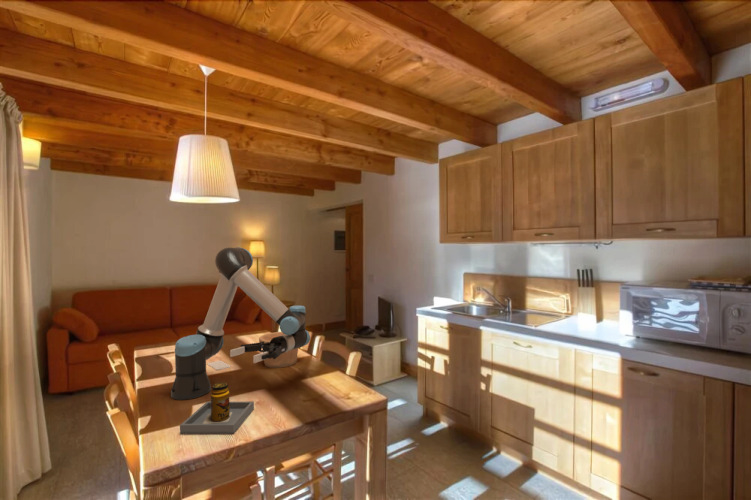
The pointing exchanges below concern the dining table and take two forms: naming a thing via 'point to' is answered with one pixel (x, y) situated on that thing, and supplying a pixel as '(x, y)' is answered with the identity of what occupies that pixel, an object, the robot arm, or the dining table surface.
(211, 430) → the tray
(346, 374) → the dining table surface
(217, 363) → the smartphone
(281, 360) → the pottery
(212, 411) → the condiment
